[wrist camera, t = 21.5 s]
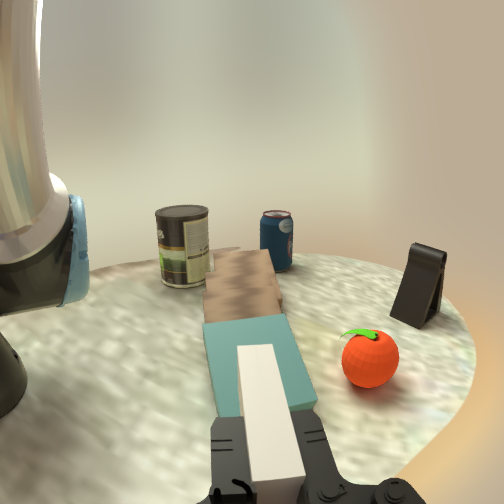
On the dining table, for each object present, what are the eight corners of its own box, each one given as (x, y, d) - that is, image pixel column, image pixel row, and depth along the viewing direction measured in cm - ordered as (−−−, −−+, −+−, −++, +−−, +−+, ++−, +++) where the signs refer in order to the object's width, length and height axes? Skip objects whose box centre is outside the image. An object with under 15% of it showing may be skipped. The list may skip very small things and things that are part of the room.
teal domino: (220, 419, 27) (202, 323, 36) (220, 426, 29) (203, 336, 38) (317, 399, 30) (284, 313, 39) (312, 408, 31) (281, 325, 40)
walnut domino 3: (210, 368, 35) (202, 291, 44) (211, 377, 36) (203, 303, 45) (294, 358, 37) (273, 285, 45) (291, 368, 38) (271, 297, 47)
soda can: (296, 271, 68) (298, 215, 64) (265, 274, 66) (265, 217, 62) (285, 260, 74) (286, 208, 70) (256, 263, 72) (256, 210, 68)
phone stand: (418, 329, 44) (434, 258, 40) (389, 316, 49) (401, 247, 45) (439, 310, 49) (454, 247, 45) (413, 299, 54) (424, 238, 50)
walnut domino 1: (218, 304, 49) (213, 253, 58) (219, 314, 50) (214, 263, 59) (282, 298, 50) (267, 249, 59) (280, 308, 52) (267, 259, 61)
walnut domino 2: (212, 336, 41) (204, 272, 50) (213, 345, 43) (205, 283, 51) (285, 328, 43) (267, 267, 52) (283, 337, 45) (265, 278, 53)
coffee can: (161, 291, 59) (154, 218, 54) (161, 270, 68) (155, 206, 63) (215, 285, 61) (211, 213, 56) (207, 266, 71) (204, 203, 66)
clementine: (319, 382, 35) (326, 335, 33) (345, 354, 40) (353, 309, 38) (379, 407, 30) (394, 359, 28) (398, 374, 35) (412, 327, 33)
